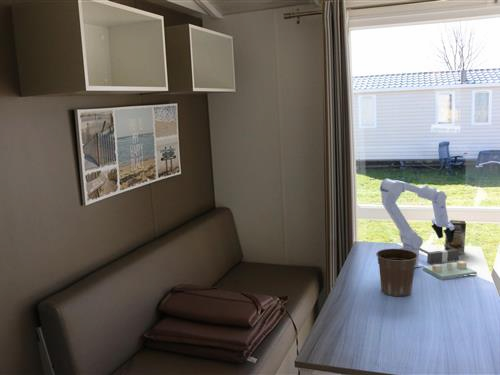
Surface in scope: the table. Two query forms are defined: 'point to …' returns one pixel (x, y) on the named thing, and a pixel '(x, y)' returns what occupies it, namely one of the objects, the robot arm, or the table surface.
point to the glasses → (442, 255)
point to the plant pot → (396, 271)
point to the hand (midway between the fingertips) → (445, 239)
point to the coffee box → (457, 236)
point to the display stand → (449, 270)
